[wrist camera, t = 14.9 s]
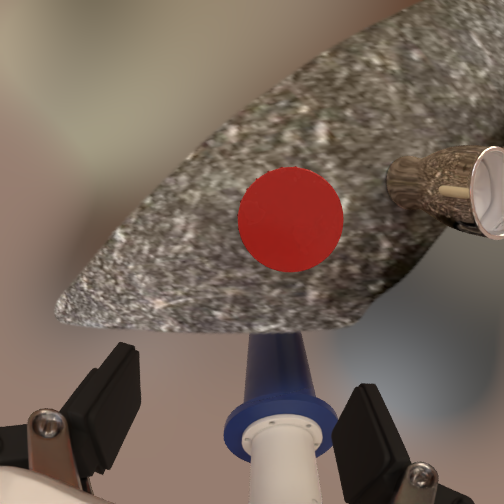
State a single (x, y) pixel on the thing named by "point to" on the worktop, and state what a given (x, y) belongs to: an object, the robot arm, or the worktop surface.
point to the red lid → (290, 219)
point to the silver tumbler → (454, 187)
